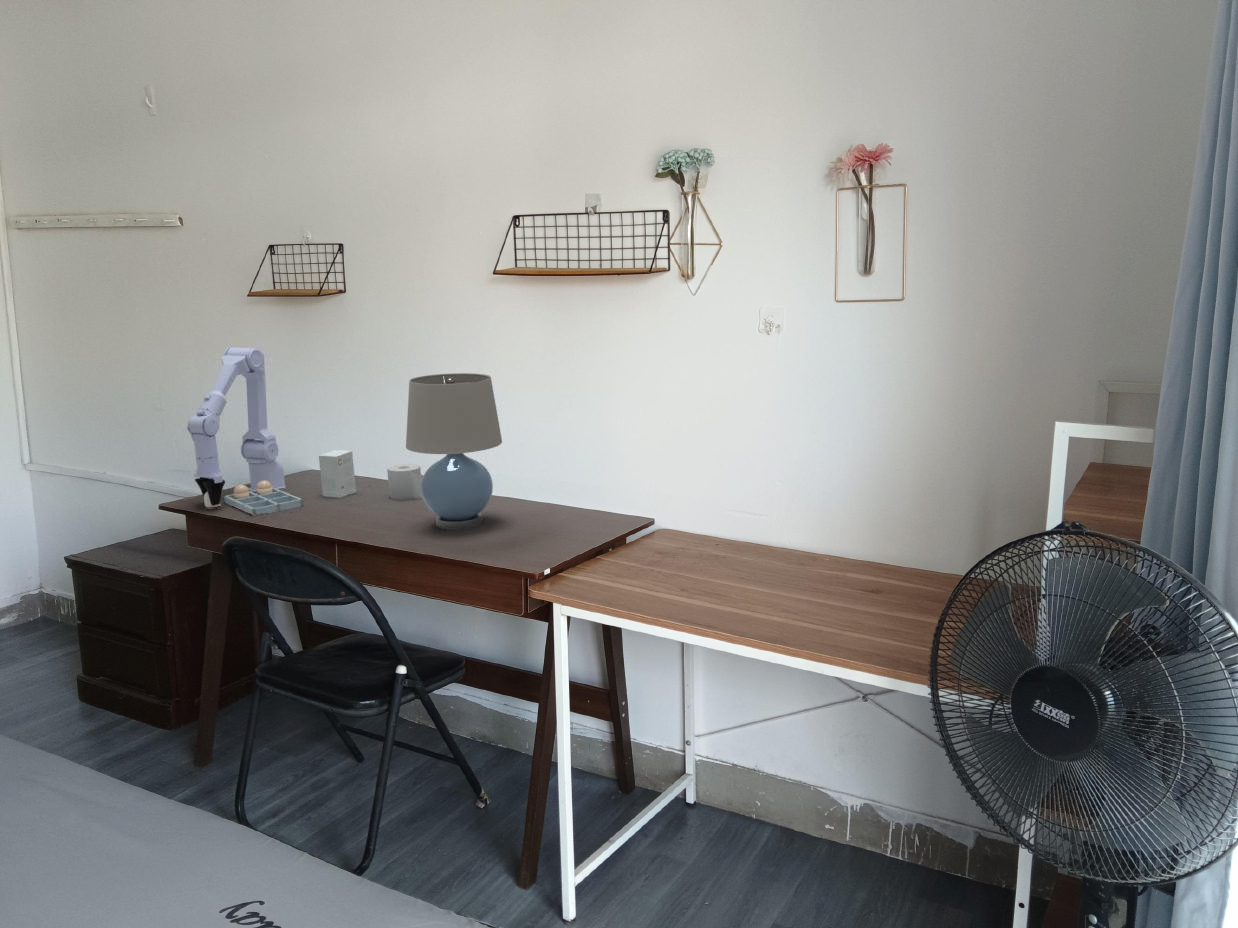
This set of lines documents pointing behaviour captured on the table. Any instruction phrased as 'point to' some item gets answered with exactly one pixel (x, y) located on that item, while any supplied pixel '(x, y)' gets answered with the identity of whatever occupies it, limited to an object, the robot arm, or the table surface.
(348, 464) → the small box
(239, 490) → the brown egg
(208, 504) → the cream egg
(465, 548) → the table surface
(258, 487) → the brown egg
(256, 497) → the egg carton
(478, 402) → the lamp
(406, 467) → the toilet tissue
